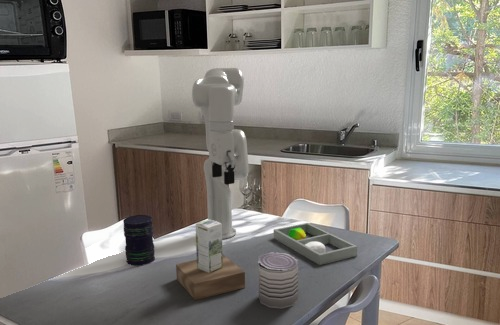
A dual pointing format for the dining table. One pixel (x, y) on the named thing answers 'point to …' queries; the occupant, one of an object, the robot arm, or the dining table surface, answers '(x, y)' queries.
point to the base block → (210, 279)
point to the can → (278, 280)
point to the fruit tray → (320, 236)
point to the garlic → (316, 246)
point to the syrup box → (209, 245)
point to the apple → (297, 234)
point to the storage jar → (139, 240)
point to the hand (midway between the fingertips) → (223, 180)
